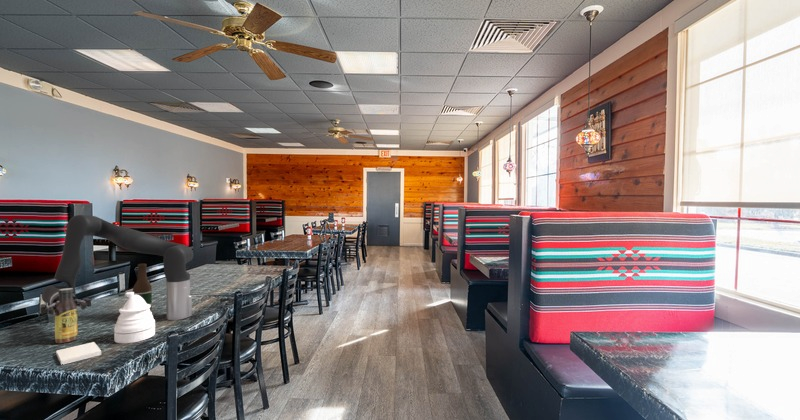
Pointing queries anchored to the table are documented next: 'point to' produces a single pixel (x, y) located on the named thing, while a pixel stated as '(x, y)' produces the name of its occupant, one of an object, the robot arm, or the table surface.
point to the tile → (78, 353)
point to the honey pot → (134, 321)
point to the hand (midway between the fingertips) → (68, 309)
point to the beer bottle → (143, 285)
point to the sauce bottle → (66, 317)
